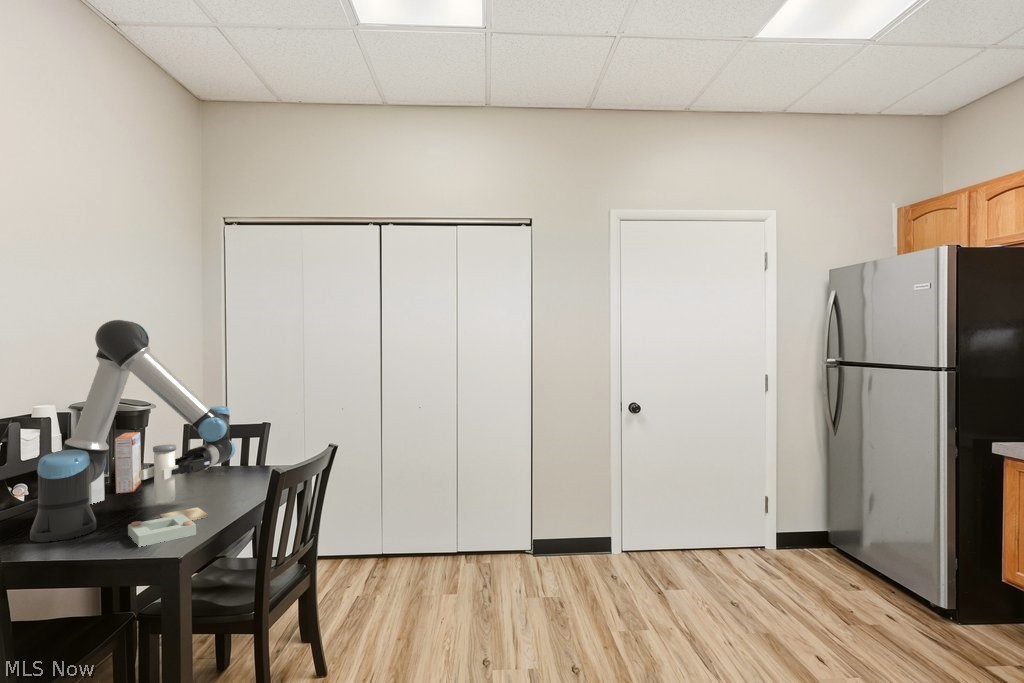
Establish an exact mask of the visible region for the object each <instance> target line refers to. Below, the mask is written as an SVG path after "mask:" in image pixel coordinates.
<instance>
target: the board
mask: <svg viewBox="0 0 1024 683" xmlns="http://www.w3.org/2000/svg"><path fill="white" fill-rule="evenodd" d="M181 514H183V515H184V516H186V517H187V518H188V519H190V520H191V521H192V520H193V521H197V519H198V520H202V519H201V518H203V519H206V517H208V518H209V514H208V512H205V511H204V510H202V509H201V508H200V507H192V508H187V509H180V510H175V511H171V512H167V513H159V517H160V518H165V517H170V516H176V515H181ZM160 518H159V519H160Z"/></svg>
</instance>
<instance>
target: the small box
mask: <svg viewBox="0 0 1024 683" xmlns="http://www.w3.org/2000/svg"><path fill="white" fill-rule="evenodd" d="M104 471H105V470H104ZM104 471H103V473H102V474H101V476H100V477H99V478H98V479H97V480H95V481H94V482H92V483H90V484H89V504H92V505H94V504H93V503H95V504H97V502H98V503H100V501H101V502H103V501H105V472H104Z"/></svg>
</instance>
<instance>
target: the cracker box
mask: <svg viewBox="0 0 1024 683" xmlns="http://www.w3.org/2000/svg"><path fill="white" fill-rule="evenodd" d="M141 454H142V453H141V432H140V431H136V432H124V433H122V434H121V435H119V436H117V437H116V438H115V439H114V455H115V456H114V458H115V460H114V461H115V462H114V463H115V464H114V465H115V470H114V471H115V494H118V493H120V494H127V493H134V492H135V491H136V489H137V488H139V486H140V485H141V484H142V480H141V470H142V468H141V467H142V463H141V461H142V460H141V458H142V457H141V456H142V455H141Z"/></svg>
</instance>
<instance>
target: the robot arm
mask: <svg viewBox="0 0 1024 683" xmlns="http://www.w3.org/2000/svg"><path fill="white" fill-rule="evenodd" d="M94 336H95V338H94V340H95V344H96V346H97V348H98V349H97V353H96V355H95V359H96V360H97V361H98V367H97V370H96V372H95V376H94V378H93V380H92V383H91V386H90V389H89V392H88V395H87V396H86V400H85V403H84V405H83V409H82V411H81V413H80V417H79V420H78V422H77V424H76V428H75V430H74V433H73V436H72V437H70V438H68V439H65V441H64V444H63V446H62V448H61V450H59V451H54V452H51V453H48V454H45V455H43V456H42V457H40V459H39V461H38V466H37V470H36V473H37V513H36V516H35V518H34V520H33V523H32V525H31V528H30V531H29V540H30V541H31V542H35V543H50V542H49V541H53V542H59V541H58V540H61V541H65V540H71V539H75V538H74V537H76V538H79V537H82V536H81V535H83V536H86V535H88V534H90V532H91V533H92V531H93V530H94V531H96V529H97V519H96V516H95V514H94V512H93V510H92V507H91V505H90V504H89V484H90V483H92V482H94V481H95V480H97V479H98V478H99V477H100V476H101V474H102V473H103V471H105V469H106V466H107V455H108V452H109V449H110V445H108V443H107V438H108V436H109V433H110V430H111V427H112V425H113V423H114V422H113V421H114V418H115V415H116V413H117V409H118V408H119V405H120V402H121V399H122V395H123V394H124V390H125V387H126V385H127V382H128V380H129V376H130V374H131V373H132V374H133V375H134V376H135V377H136V378H138V380H140V381H141V382H142V383H143V384H144V385H146V387H147V388H148V389H150V390H151V391H152V392H153V393H154V394H155V395H156V396H158V397H159V398H160V399H161V400H162V401H163V402H164V403H165V404H167V405H168V406H169V407H170V408H171V409H172V410H174V411H175V413H177V414H178V415H179V417H182V419H184V421H186V422H187V423H188V424H189V425H190V426H192V428H193V429H194V430H195V431H197V433H198V435H199V437H200V438H201V439H202V440H203V441H204V444H202V445H200V446H197V447H194V448H193V447H192V448H191V449H188V450H187V451H186V452H185V454H184V455H182V456H180V457H177V458H176V457H175V466H172V467H169V468H167V469H164V470H162V480H165V479H168V478H170V477H173V476H175V477H176V476H178V475H183V474H185V473H186V474H188V475H189V474H192V473H197V472H201V471H203V470H208V468H210V467H214V466H216V465H219V464H222V463H226V461H227V462H228V460H230V459H232V458H233V457H234V456H235V453H236V446H235V444H234V442H233V441H232V440H230V417H231V415H230V407H228V406H223V405H218V406H217V405H216V406H209V405H208V404H207V403H206V402H205V401H203V400H202V399H201V398H200V397H199V396H198V395H197V394H196V393H195V392H194V391H192V390H191V389H190V387H188V386H187V385H186V384H185V383H184V382H182V380H181V379H179V377H177V376H176V374H174V372H172V371H171V370H170V369H169V368H167V366H165V365H164V364H163V363H162V362H161V361H160V360H159V359H158V358H157V357H156V356H155V355H154V354H152V353H151V352H150V351H151V350H150V349H151V347H150V346H149V343H150V337H149V333H148V332H147V331H146V329H145V328H144V326H142V325H141V324H139V323H137V322H134V321H130V320H123V319H114V320H109V321H107V322H105V323H103V324H102V325H101V326H100V327H99V328H98V329H97V330H96V334H95V335H94ZM151 478H154V463H151V464H149V466H148V468H144V469H141V481H144V480H147V479H151ZM94 531H93V532H94ZM87 533H88V534H87ZM85 534H86V535H85ZM78 536H79V537H78Z"/></svg>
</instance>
